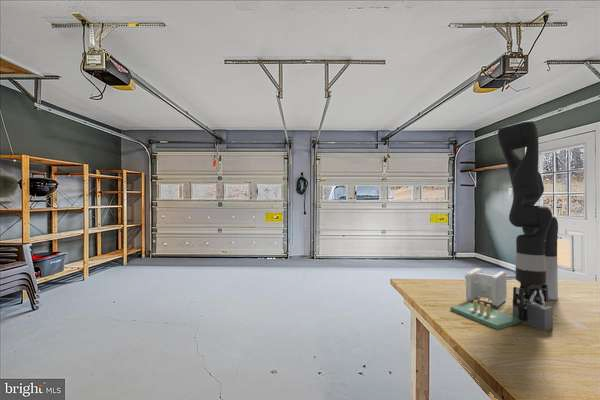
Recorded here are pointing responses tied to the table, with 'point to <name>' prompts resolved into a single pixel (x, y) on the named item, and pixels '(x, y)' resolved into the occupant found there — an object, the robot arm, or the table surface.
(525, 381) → the table surface
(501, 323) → the board
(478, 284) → the white socket shroud
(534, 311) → the block
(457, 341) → the table surface
